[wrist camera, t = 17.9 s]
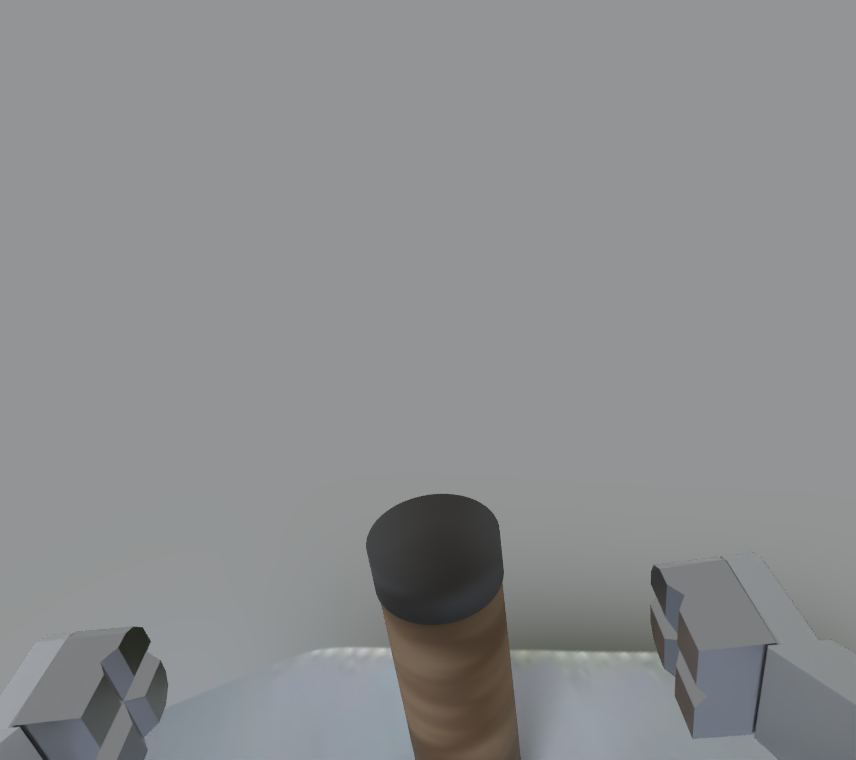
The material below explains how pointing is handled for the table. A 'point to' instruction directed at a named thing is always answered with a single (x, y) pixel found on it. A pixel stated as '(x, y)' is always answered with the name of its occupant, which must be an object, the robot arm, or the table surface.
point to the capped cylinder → (447, 625)
